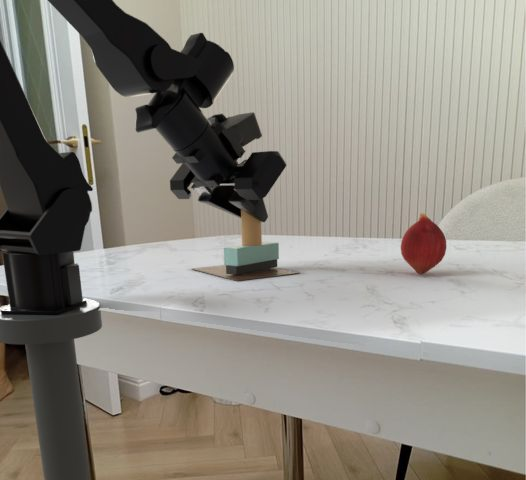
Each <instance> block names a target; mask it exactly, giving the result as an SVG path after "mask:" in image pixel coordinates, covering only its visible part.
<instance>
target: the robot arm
mask: <svg viewBox="0 0 526 480" xmlns="http://www.w3.org/2000/svg"><path fill="white" fill-rule="evenodd" d="M47 1H48V2H49V3H50V5H51V6H52V7H53V8H54V9H55V10H56V11H57V12H58V13H59V14H60V15H61V16H62V17H63V18H64V20H65V21H67V22H68V23H69V24H70V25H71V26H72V28H73V29H74V30H75V31H76V32H77V33H78V34H79V35H80V36H81V37H82V38H83V40H84V41H85V43H86V44H87V45H88V47H89V48H90V51H91V54H92V57H93V61H94V64H95V66H96V67H97V68H98V70H99V72H100V73H101V74H102V76H103V77H104V78H105V79H106V81H107V82H108V84H109V85H110V86H111V88H112V89H113V90H114V91H115V92H117V94H119V95H120V96H122V97H125V98H132V97H140V96H146V95H152V97H151V99H150V100H149V101H148V103H147V104H143V105H140V106H138V107H135V109H134V111H135V116H136V118H135V122H134V123H135V124H134V125H135V126H134V127H135V128H134V129H135V132H136V133H138V134H140V133H144V132H147V131H151V130H152V131H153V130H156V132H158V134H159V135H160V136H161V137H162V138H163V140H164V141H165V142H166V144H167V145H169V146H170V148H171V149H172V150H173V152H174V154H173V156H172V157H171V159H172V160H173V161H174V162H175V163H176V164H177V165H178V164H180V166H179V168H178V169H177V170H176V172H175V173H174V174H173V176H172V177H171V178H170V180H169V189H170V191H171V193H172V194H173V195H174V196H175V197H176V199H178V200H190V199H191V197H192V191H191V190H193V191H196V192H197V194H198V195H199V197H198V198H197V201H198V202H199V203H203V204H205V205H208V206H211V207H213V208H216V209H218V210H221V211H223V212H225V213H228V214H229V215H232V216H235V217H237V218H238V219H241V210H243V211H245V212H246V213H248V214H249V215H251V216H253V217H254V218H256V219H258V220H259V221H261V223H266V222H267V220H268V218H269V214H268V211H267V207H266V204H265V201H264V198H266V197H267V195H268V194H269V193H270V192H271V190H272V188H273V186H274V185H275V183H276V182H277V181H278V179H279V177H280V176H281V175H282V173H283V172H284V170H285V169H286V167H287V162H286V161H285V159H284V158H283V155H281V153H280V152H279V151H278V150H268V151H267V150H265V151H255V152H251V154H250V155H249V156H248V158H246V159H244V160H242V161H241V162H240V163H239V162H238V160H239V159H241V158H242V157H243V156H244V155H245V153H246V150H245V149H244V147H245V146H247V145H248V144H250V143H252V142H253V141H254V140H259V139H261V138H262V137H263V134H262V131H261V128H260V125H259V122H258V119H257V117H256V113H255V112H254V111H253V112H246V113H239V114H236V115H232V116H228V117H226V115H225V114H224V113H216V114H213V115H211V116H210V117H207V116H206V115H205V113H204V112H203V111H202V109H208V108H210V107H211V106H212V105H213V104H214V102H215V101H216V100H217V98H218V97H219V95H220V94H221V92H222V91H223V90H224V87H225V86H226V85H227V83H228V82H229V80H230V79H231V78H232V76H233V74H234V71H235V64H234V60H233V58H232V56H231V55H230V53H229V52H228V51H226V50H225V49H224V48H223V47H221V45H220V44H217V43H216V42H214V41H211V40H208V39H207V38H206V36H205V34H204V32H199V33H195V34H191V35H189V37H188V38H187V40H186V41H185V44H184V46H183V48H182V49H181V51H178V50H177V49H174V48H172V46H171V45H170V43H169V42H168V41H167V40H166V39H165V38H163V36H161V35H160V34H159V33H158V32H157V31H156V30H155V29H154V28H153V27H151V26H150V25H149V24H148V23H147V22H145V21H143V20H141V19H139V18H137V17H135V16H134V15H132V14H129V13H127V12H126V11H124V10H123V9H122V8H121V7H120V6H119V5H118V4H117V3H116V2H115V1H114V0H47ZM153 94H154V95H153ZM191 184H192V185H191ZM190 186H191V187H190ZM189 188H191V190H190V189H189ZM0 190H1V192H2V195H3V198H4V202H5V204H6V208H5V209H4V211H3V212H2V213H1V215H0V252H1V256H2V260H3V261H2V262H3V268H4V275H5V283H6V287H7V288H6V289H7V296H8V304H9V305H10V307H7V308H4V309H2V310H1V314H4V315H60V314H62V313H65V312H67V311H69V310H72V309H74V308H77V307H79V306H81V305H84V304H86V303H87V300H86V299H87V298H83V291H82V281H81V272H80V265H79V264H78V262H75V253H74V252H80V251H81V249H82V246H83V245H82V244H83V240H84V235H85V230H86V226H87V224H88V222H89V221H90V216H91V213H92V212H93V202H92V199H91V198H92V197H91V196H90V193H89V192H92V191H93V190H94V188H93V187H92V186H91V185H90V184H89V182H88V181H87V179H86V177H85V175H84V173H83V169H82V165H81V163H80V160H79V157H78V156H77V154H76V153H75V152H74V151H68V152H66V151H65V152H59V151H57V150H56V148H54V146H52V145H51V144H50V143H49V141H48V140H47V138H46V137H45V135H44V133H43V131H42V128H41V126H40V124H39V122H38V119H37V117H36V115H35V112H34V111H33V108H32V106H31V104H30V101H29V99H28V98H27V96H26V93H25V91H24V88H23V87H22V85H21V82H20V80H19V78H18V75H17V73H16V70H15V69H14V66H13V65H12V62H11V60H10V58H9V56H8V54H7V51H6V49H5V47H4V45H3V42H2V40H1V39H0Z"/></svg>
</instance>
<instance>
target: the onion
mask: <svg viewBox="0 0 526 480" xmlns="http://www.w3.org/2000/svg"><path fill="white" fill-rule="evenodd" d="M446 252H447V239H446V237H445V233H444V232H443V230H442V229H441V228H440V226H438V224H436V223H435V222H434V221H433V220H432V219H430V218H429V217H428V215H427V214H426V213H424V212H420V214H419V218H418V220H417V221H416V222H415V223H413V224H412V225H411V226H410V227H409V228H408V229H407V230H406V231H405V232H404V233H403V236H402V239H401V244H400V253H401V256H402V258H403V259H404V261H405V262H406V263H407V264H408V266H410V267H411V268H412V269H413V270H414V271H415V273H416V274H418V275H424V274H426V273H427V272H429V271H430V270H432V269H434V268H435V267H436V266H438V265H439V264H440V263H441V262H442V260H443V259H444V257H445V255H446Z"/></svg>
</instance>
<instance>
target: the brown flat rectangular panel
mask: <svg viewBox="0 0 526 480" xmlns="http://www.w3.org/2000/svg"><path fill="white" fill-rule="evenodd" d="M191 270H192V271H197V272H201V273H205V274H208V275H211V276H216V277H220V278H222V279H223V278H224V279H228V280H232V281H235V282H243V281H250V280H258V279H265V278H274V277H282V276H289V275H290V276H291V275H297V274H300V272H299V271H293V270H288V269H282V268H278V267H275V268H269V269H264V270H259V271H254V272H249V273H244V274H239V275H233V274H226V265H224V264H223V265H215V266H204V267H196V268H191Z"/></svg>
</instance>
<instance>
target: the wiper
mask: <svg viewBox="0 0 526 480" xmlns="http://www.w3.org/2000/svg"><path fill="white" fill-rule="evenodd" d="M240 222H241V223H240V227H241V245H233V246H226V247H223V263H224V264H223V265H226V274H233V275H239V274H244V273H249V272H254V271H259V270H264V269H269V268H278V260H279V259H280V247H279V245H280V244H279V242H277V241H263V239H262V235H263V234H262V222H261V221H259V220H258V219H256V218H254V217H253V216H251V215H249V214H248V213H246V212H245V211H243V210H241V218H240Z"/></svg>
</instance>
